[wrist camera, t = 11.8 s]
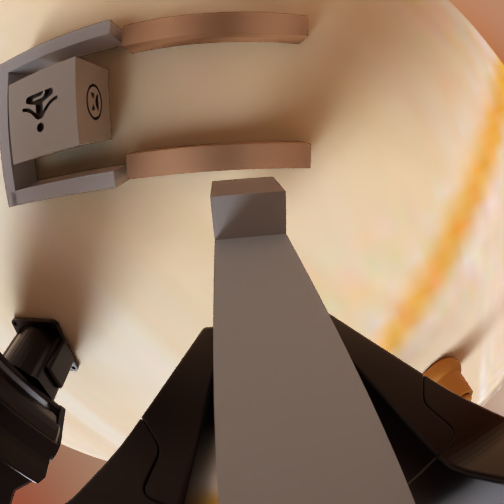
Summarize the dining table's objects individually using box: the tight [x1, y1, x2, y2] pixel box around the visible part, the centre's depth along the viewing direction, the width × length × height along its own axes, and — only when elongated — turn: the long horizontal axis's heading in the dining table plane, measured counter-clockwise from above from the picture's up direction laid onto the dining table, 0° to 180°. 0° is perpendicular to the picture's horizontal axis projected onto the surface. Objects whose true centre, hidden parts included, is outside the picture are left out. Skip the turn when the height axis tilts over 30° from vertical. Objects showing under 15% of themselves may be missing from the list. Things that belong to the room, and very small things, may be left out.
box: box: [0, 20, 129, 207], centre depth 14 cm, size 9×10×3 cm
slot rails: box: [122, 12, 311, 179], centre depth 15 cm, size 11×10×2 cm
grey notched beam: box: [210, 177, 415, 504], centre depth 8 cm, size 2×6×12 cm, turn 3°
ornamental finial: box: [423, 357, 473, 401], centre depth 28 cm, size 8×8×8 cm
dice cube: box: [9, 56, 112, 165], centre depth 13 cm, size 5×5×5 cm
